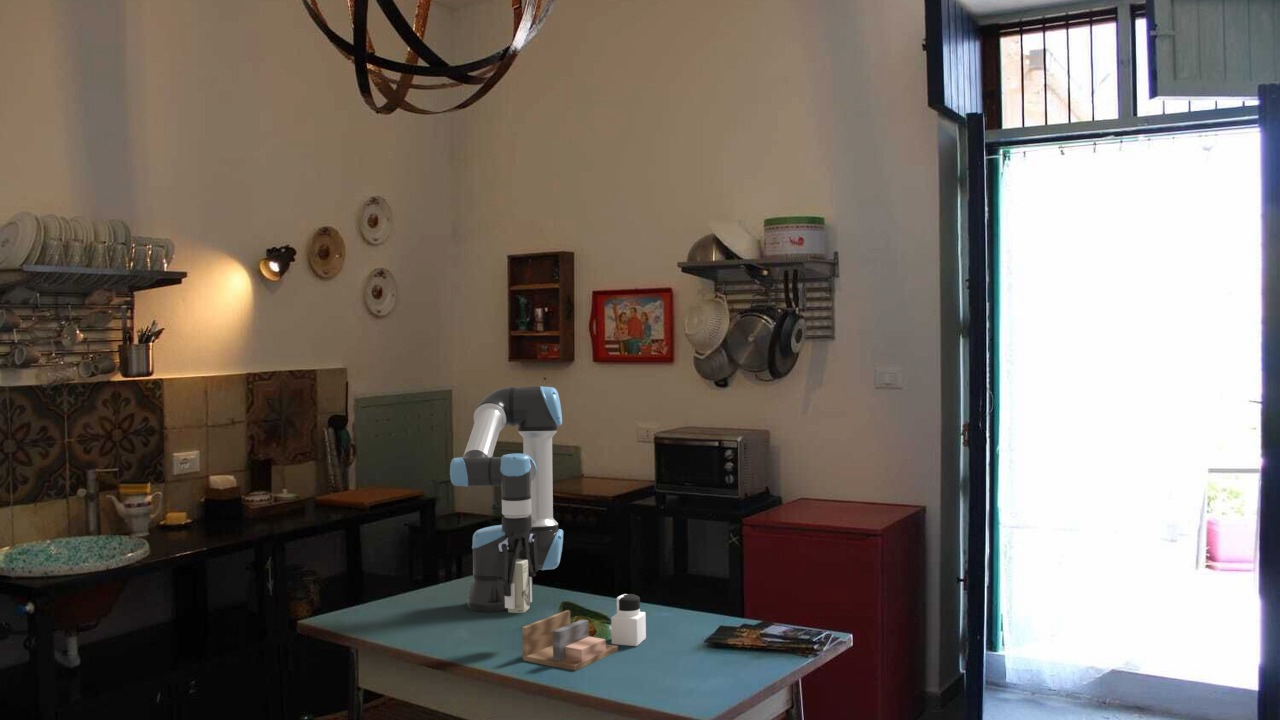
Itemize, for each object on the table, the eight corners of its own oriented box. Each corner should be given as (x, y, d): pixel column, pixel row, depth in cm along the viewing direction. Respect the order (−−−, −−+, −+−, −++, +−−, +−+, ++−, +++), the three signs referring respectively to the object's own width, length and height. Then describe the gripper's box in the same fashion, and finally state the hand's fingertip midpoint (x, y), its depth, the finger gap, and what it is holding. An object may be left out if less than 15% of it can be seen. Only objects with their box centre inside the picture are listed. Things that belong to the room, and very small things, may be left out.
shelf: (567, 641, 267) (566, 610, 266) (617, 650, 258) (617, 618, 258) (522, 660, 252) (522, 627, 251) (575, 670, 243) (574, 636, 243)
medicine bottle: (646, 638, 268) (645, 593, 268) (637, 646, 261) (636, 600, 261) (620, 636, 270) (620, 591, 270) (611, 644, 264) (610, 598, 263)
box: (524, 614, 259) (522, 563, 258) (507, 613, 260) (505, 563, 259) (530, 607, 264) (529, 558, 263) (514, 607, 265) (512, 557, 264)
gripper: (528, 507, 271) (530, 593, 272) (480, 520, 255) (482, 612, 256) (551, 510, 266) (553, 597, 268) (503, 523, 250) (505, 616, 252)
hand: (518, 604), depth 262 cm, fingers closed on box, 6 cm apart
